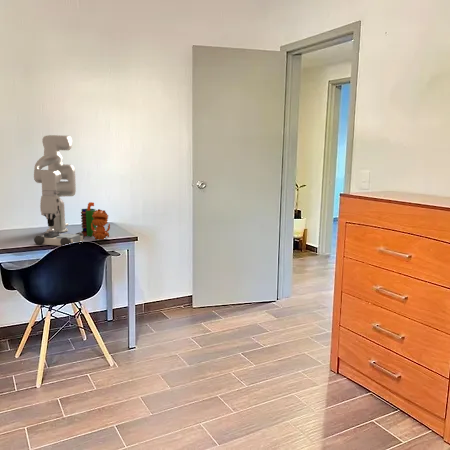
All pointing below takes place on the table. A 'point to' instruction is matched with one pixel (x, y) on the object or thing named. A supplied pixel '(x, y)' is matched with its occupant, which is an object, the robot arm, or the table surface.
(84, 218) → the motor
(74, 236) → the chassis
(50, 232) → the engine block
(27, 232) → the table surface
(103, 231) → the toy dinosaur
